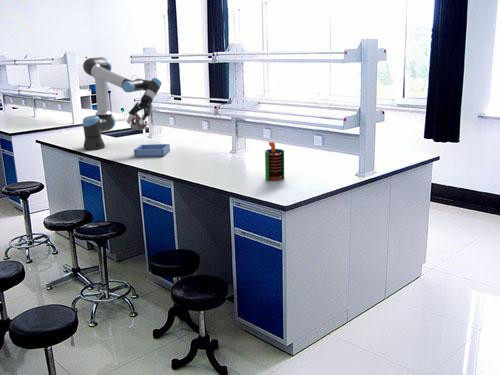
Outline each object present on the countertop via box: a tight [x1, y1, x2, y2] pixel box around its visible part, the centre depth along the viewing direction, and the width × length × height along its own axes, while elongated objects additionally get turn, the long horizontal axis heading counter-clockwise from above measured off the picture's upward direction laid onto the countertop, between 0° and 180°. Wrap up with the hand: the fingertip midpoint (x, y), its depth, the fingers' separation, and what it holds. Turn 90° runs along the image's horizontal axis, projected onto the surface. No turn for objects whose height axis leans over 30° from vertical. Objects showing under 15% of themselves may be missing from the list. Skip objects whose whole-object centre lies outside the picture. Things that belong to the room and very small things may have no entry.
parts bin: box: [133, 143, 171, 158], centre depth 349 cm, size 20×18×5 cm
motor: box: [264, 141, 285, 182], centre depth 272 cm, size 10×9×20 cm
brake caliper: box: [129, 112, 149, 131], centre depth 349 cm, size 11×11×12 cm
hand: (133, 123), depth 345 cm, fingers closed on brake caliper, 11 cm apart
